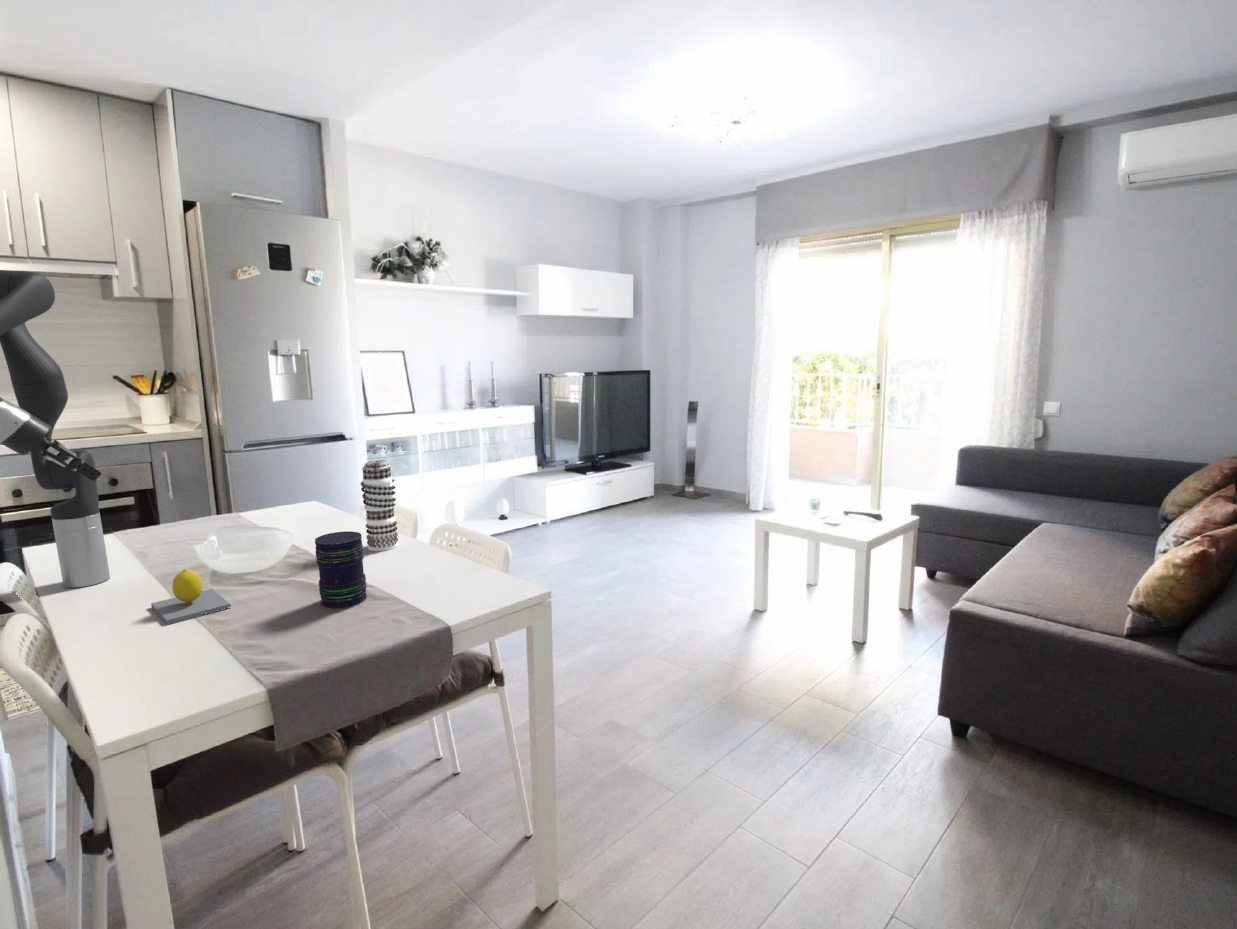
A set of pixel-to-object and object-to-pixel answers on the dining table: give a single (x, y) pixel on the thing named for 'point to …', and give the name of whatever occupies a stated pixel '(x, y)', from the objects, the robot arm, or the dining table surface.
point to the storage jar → (341, 569)
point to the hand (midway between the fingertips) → (94, 474)
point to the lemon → (187, 586)
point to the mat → (189, 607)
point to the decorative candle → (379, 505)
